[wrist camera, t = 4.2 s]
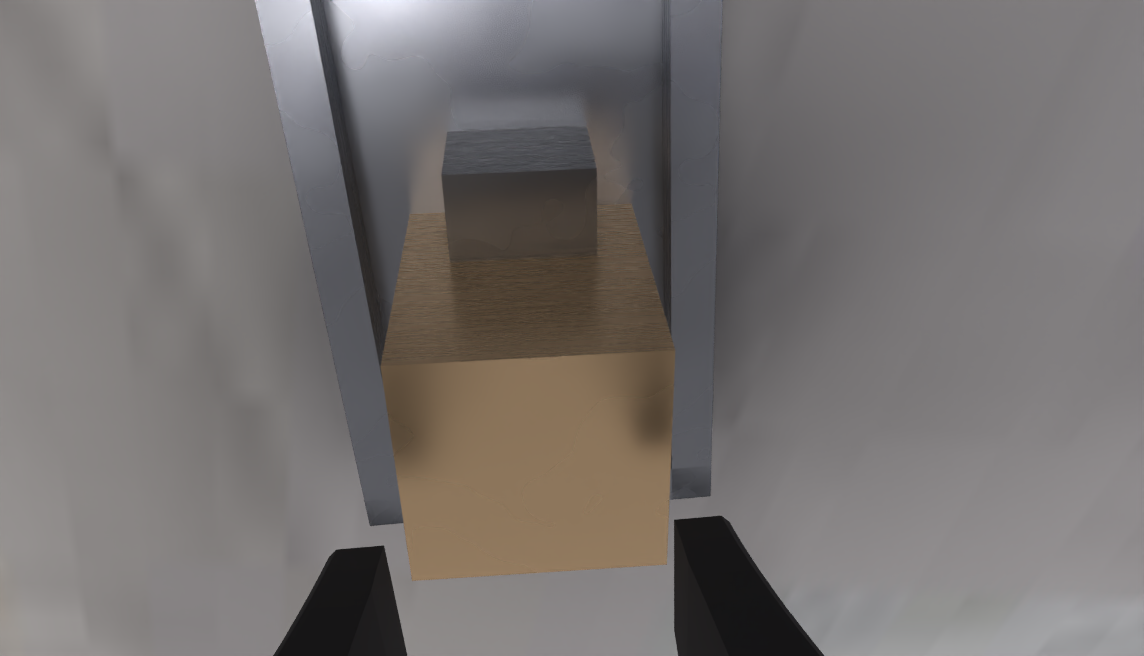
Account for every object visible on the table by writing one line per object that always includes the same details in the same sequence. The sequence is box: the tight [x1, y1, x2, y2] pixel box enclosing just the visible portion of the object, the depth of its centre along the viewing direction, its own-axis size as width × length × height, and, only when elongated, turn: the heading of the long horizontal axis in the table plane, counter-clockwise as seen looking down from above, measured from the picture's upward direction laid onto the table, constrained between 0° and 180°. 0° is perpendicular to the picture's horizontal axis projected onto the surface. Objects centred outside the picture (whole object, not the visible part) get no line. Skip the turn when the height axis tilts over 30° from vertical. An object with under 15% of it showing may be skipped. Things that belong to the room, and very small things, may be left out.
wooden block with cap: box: [381, 126, 675, 581], centre depth 16 cm, size 4×6×5 cm
